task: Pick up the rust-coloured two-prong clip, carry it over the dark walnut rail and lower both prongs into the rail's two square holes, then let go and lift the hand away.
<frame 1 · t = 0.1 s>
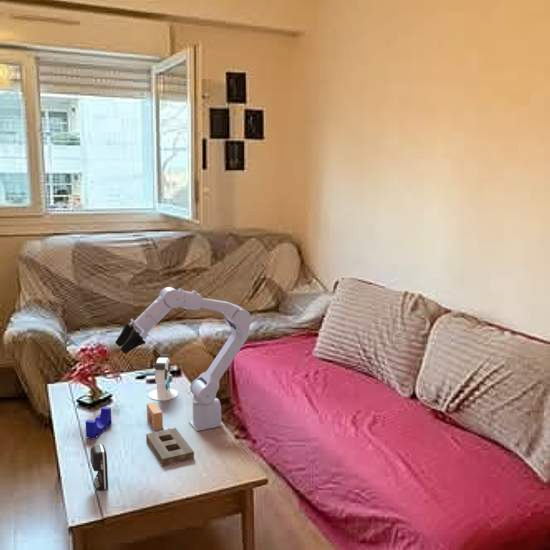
hand: (119, 348, 188), 32 cm above the table, tool tilted 50°, fingers open, 7 cm apart
walnut rail: (169, 449, 189), on the table
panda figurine: (163, 395, 232), on the table
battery: (99, 485, 169), on the table
prong clip: (154, 423, 207), on the table
cable clip: (97, 431, 202), on the table
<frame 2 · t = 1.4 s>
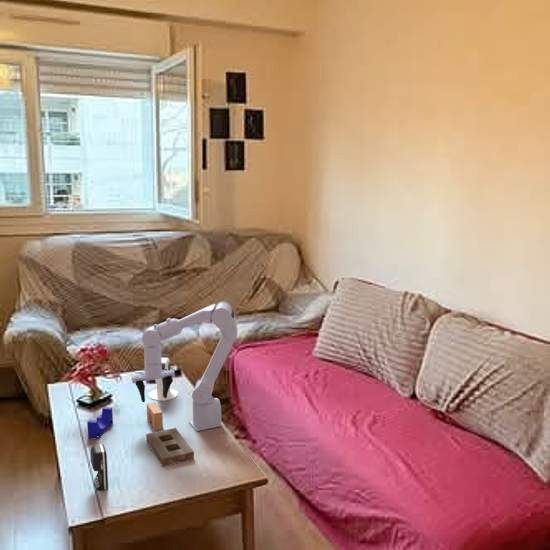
hand: (154, 399, 205), 9 cm above the table, tool pointing down, fingers open, 7 cm apart
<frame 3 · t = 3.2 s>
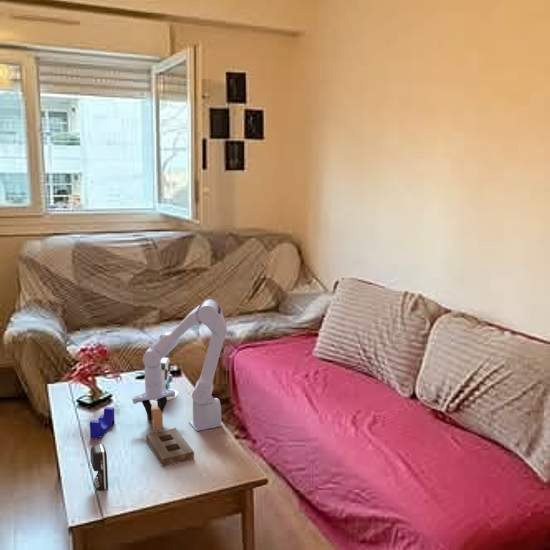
hand: (154, 418, 207), 2 cm above the table, tool pointing down, fingers closed on prong clip, 3 cm apart
prong clip: (154, 423, 207), on the table, touching gripper
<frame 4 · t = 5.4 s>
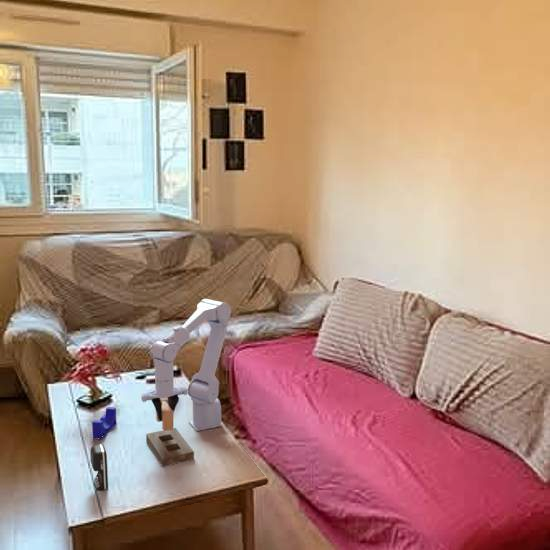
hand: (165, 418, 191), 9 cm above the table, tool pointing down, fingers closed on prong clip, 3 cm apart
prong clip: (164, 424, 192), point 7 cm above the table, touching gripper
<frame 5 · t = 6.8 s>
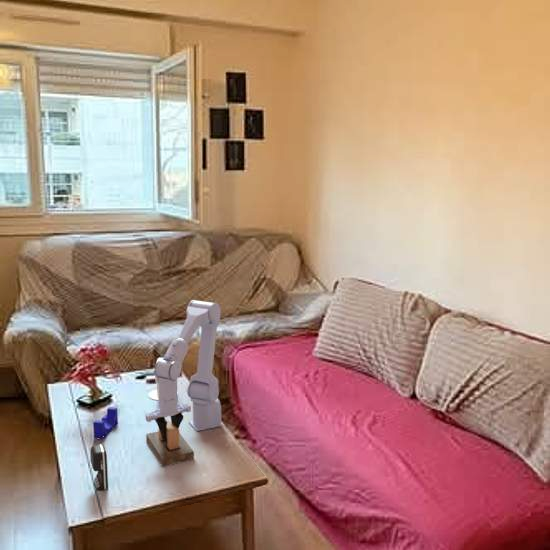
hand: (169, 437, 188), 4 cm above the table, tool pointing down, fingers closed on prong clip, 3 cm apart
prong clip: (168, 442, 189), point 2 cm above the table, touching gripper, walnut rail
when the fingers open (3 cm above the table, at t = 7.8 s): prong clip drops 2 cm, on the table.
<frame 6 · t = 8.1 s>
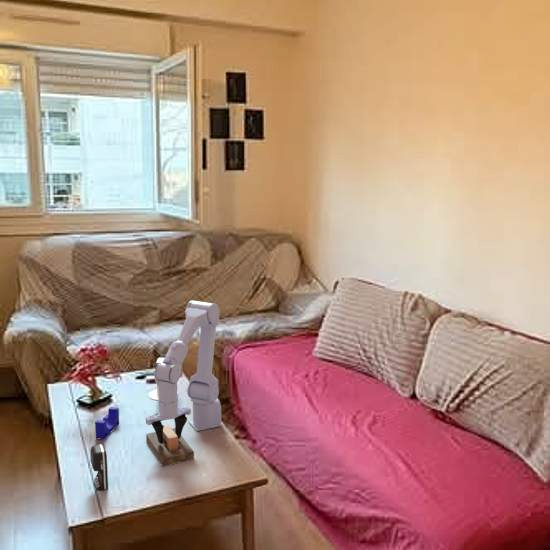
hand: (169, 439, 189), 3 cm above the table, tool pointing down, fingers open, 5 cm apart
prong clip: (169, 449, 190), on the table
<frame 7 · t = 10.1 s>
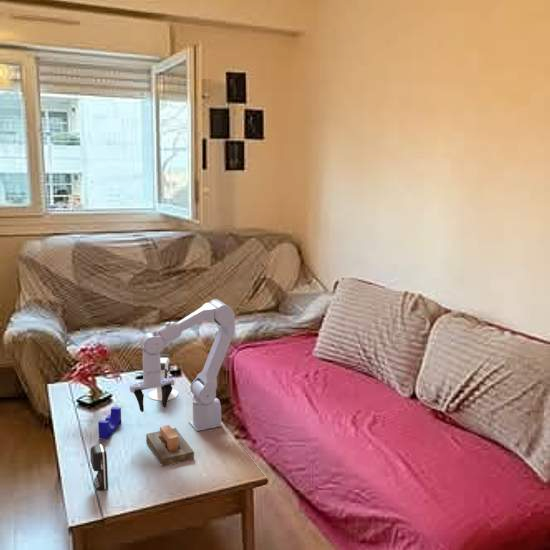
hand: (153, 408, 197), 9 cm above the table, tool pointing down, fingers open, 7 cm apart
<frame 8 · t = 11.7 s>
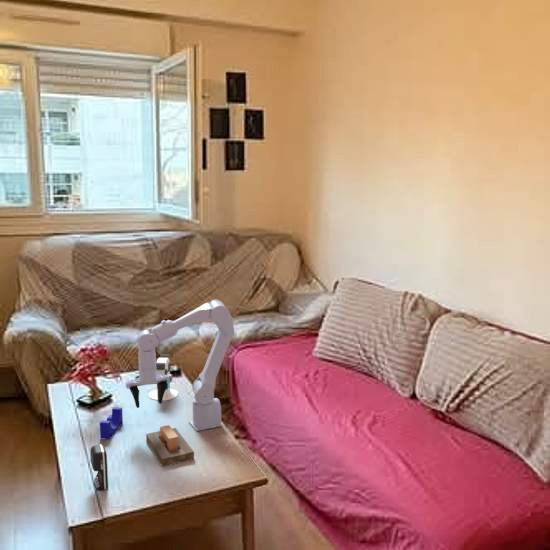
hand: (148, 404, 200), 9 cm above the table, tool pointing down, fingers open, 7 cm apart
at the end: prong clip 0.6 cm off-centre on the walnut rail, point 0.0 cm above the walnut rail's base; prong clip tilted 0°; the gripper is holding nothing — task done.
